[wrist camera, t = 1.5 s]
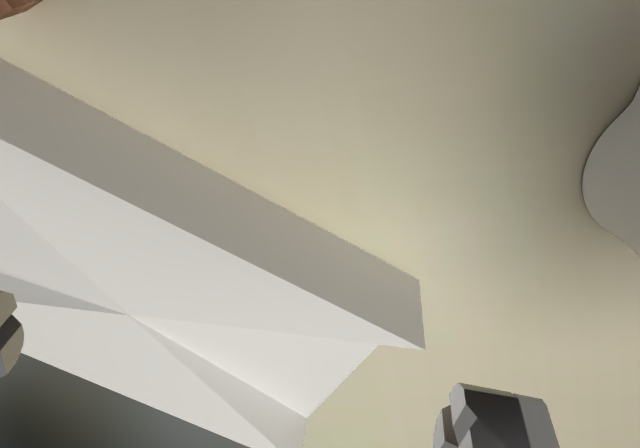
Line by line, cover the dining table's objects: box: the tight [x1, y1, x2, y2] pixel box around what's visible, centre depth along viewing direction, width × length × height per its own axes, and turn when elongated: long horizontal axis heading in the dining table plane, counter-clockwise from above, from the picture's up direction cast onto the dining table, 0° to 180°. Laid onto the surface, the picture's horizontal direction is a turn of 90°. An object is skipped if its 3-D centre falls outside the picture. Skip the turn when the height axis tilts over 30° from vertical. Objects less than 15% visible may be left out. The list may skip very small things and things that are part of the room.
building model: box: [0, 58, 425, 448], centre depth 46 cm, size 45×22×10 cm, turn 60°
